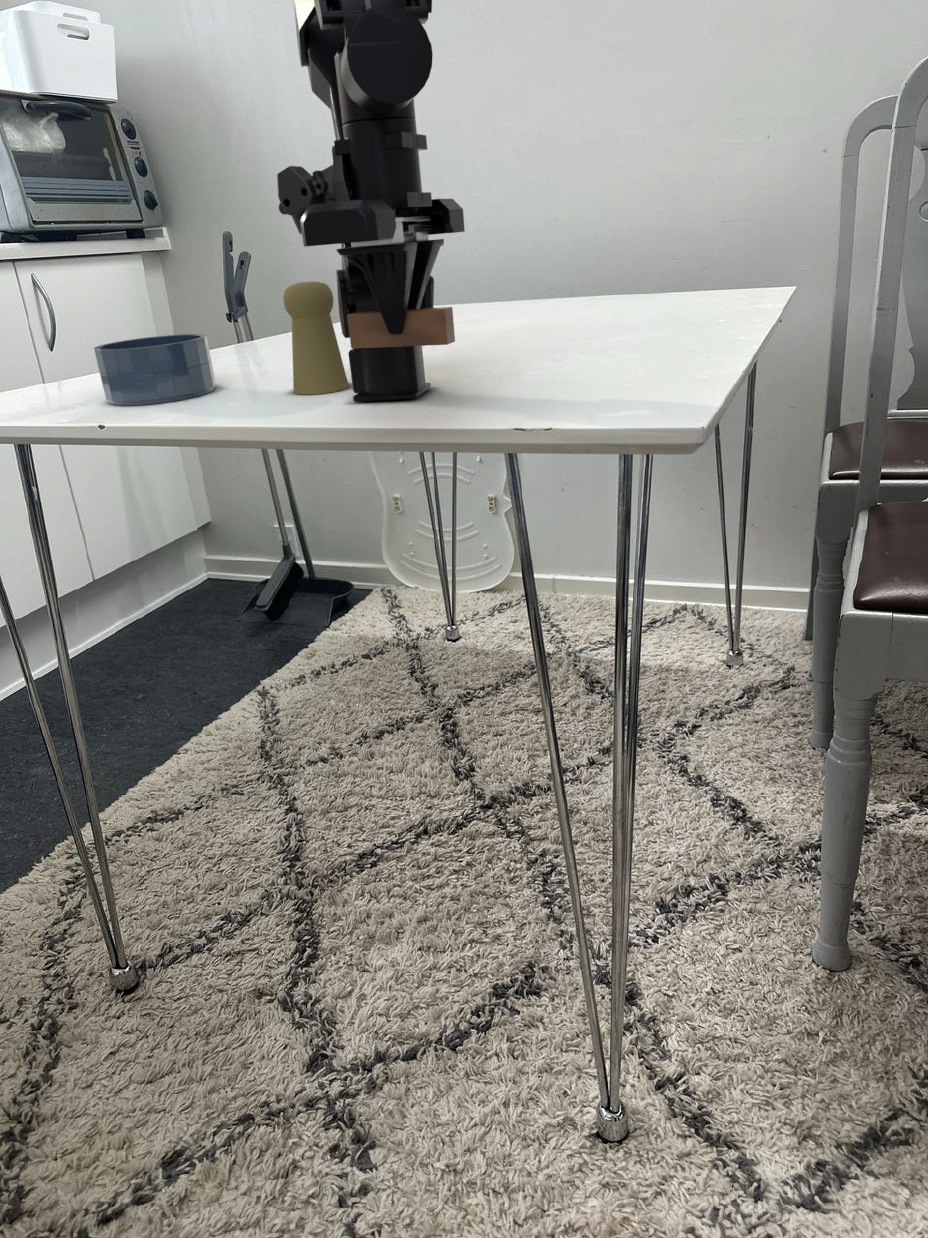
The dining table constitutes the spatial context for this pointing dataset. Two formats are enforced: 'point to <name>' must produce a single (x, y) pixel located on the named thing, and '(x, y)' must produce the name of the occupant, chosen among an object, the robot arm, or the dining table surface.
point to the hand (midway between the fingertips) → (401, 332)
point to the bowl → (155, 369)
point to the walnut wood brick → (417, 329)
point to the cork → (314, 340)
